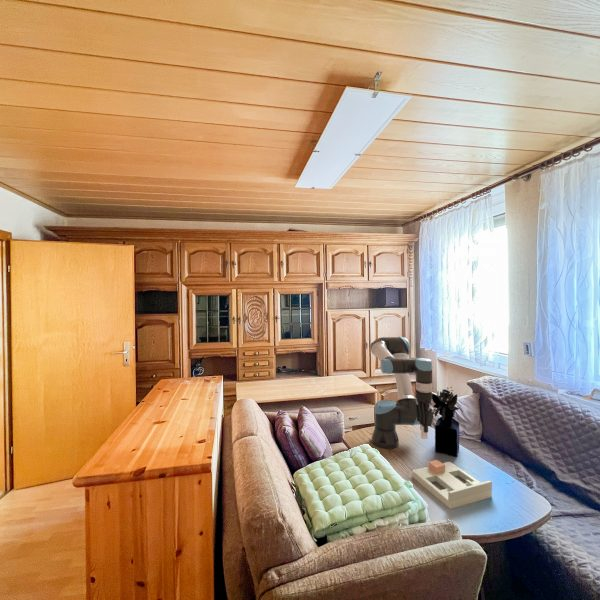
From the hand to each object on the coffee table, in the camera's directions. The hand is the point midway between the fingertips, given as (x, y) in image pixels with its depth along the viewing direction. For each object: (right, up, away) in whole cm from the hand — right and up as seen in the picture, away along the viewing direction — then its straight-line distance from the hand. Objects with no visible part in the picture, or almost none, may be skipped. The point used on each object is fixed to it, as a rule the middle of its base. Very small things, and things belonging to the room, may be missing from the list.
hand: (424, 437), depth 153 cm
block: (+3, -12, -7) cm, 14 cm away
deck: (+5, -15, -15) cm, 22 cm away
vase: (+18, -14, +16) cm, 28 cm away
